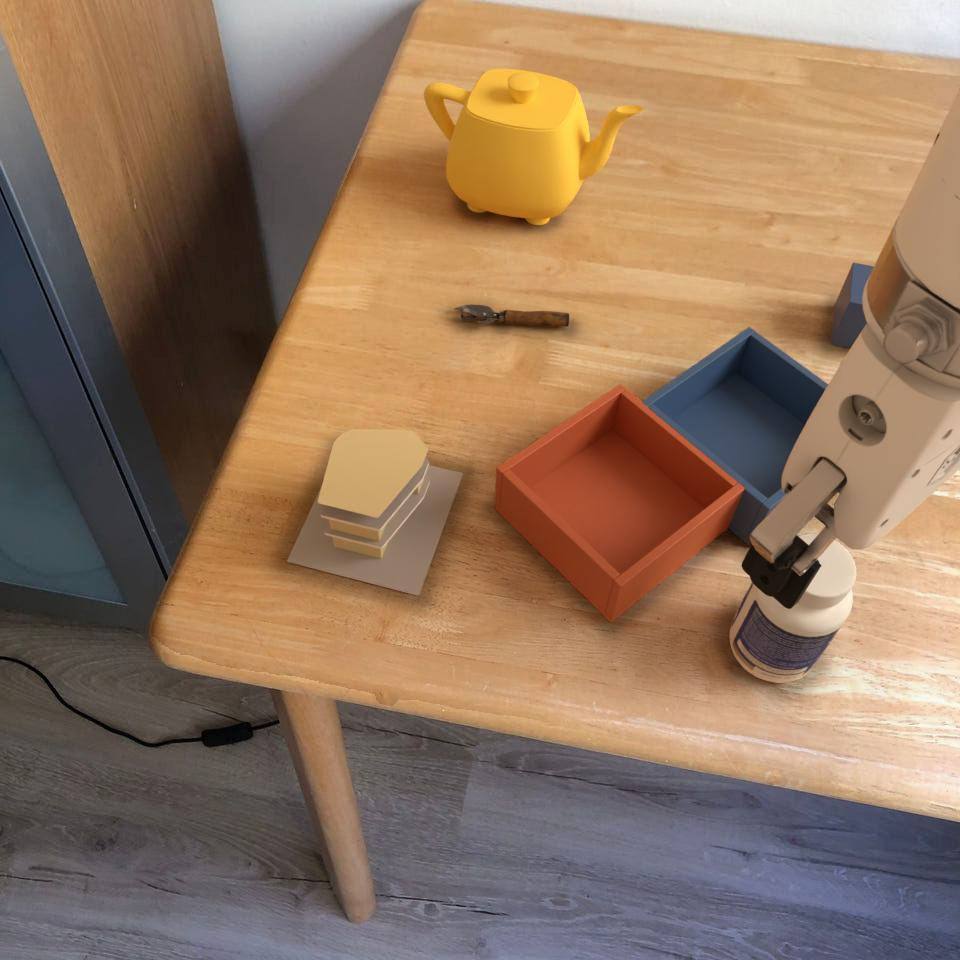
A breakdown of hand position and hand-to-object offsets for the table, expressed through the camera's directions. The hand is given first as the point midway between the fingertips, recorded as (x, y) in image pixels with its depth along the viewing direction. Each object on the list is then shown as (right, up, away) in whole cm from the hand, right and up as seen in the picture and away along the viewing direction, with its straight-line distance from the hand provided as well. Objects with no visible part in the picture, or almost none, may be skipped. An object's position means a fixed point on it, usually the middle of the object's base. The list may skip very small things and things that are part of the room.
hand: (829, 532), depth 50 cm
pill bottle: (0, -8, +10) cm, 12 cm away
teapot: (-14, +28, +35) cm, 47 cm away
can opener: (-15, +15, +26) cm, 33 cm away
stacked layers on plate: (-25, 0, +15) cm, 29 cm away
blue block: (+12, +14, +26) cm, 32 cm away
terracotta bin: (-9, 0, +15) cm, 18 cm away
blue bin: (0, +5, +18) cm, 19 cm away
